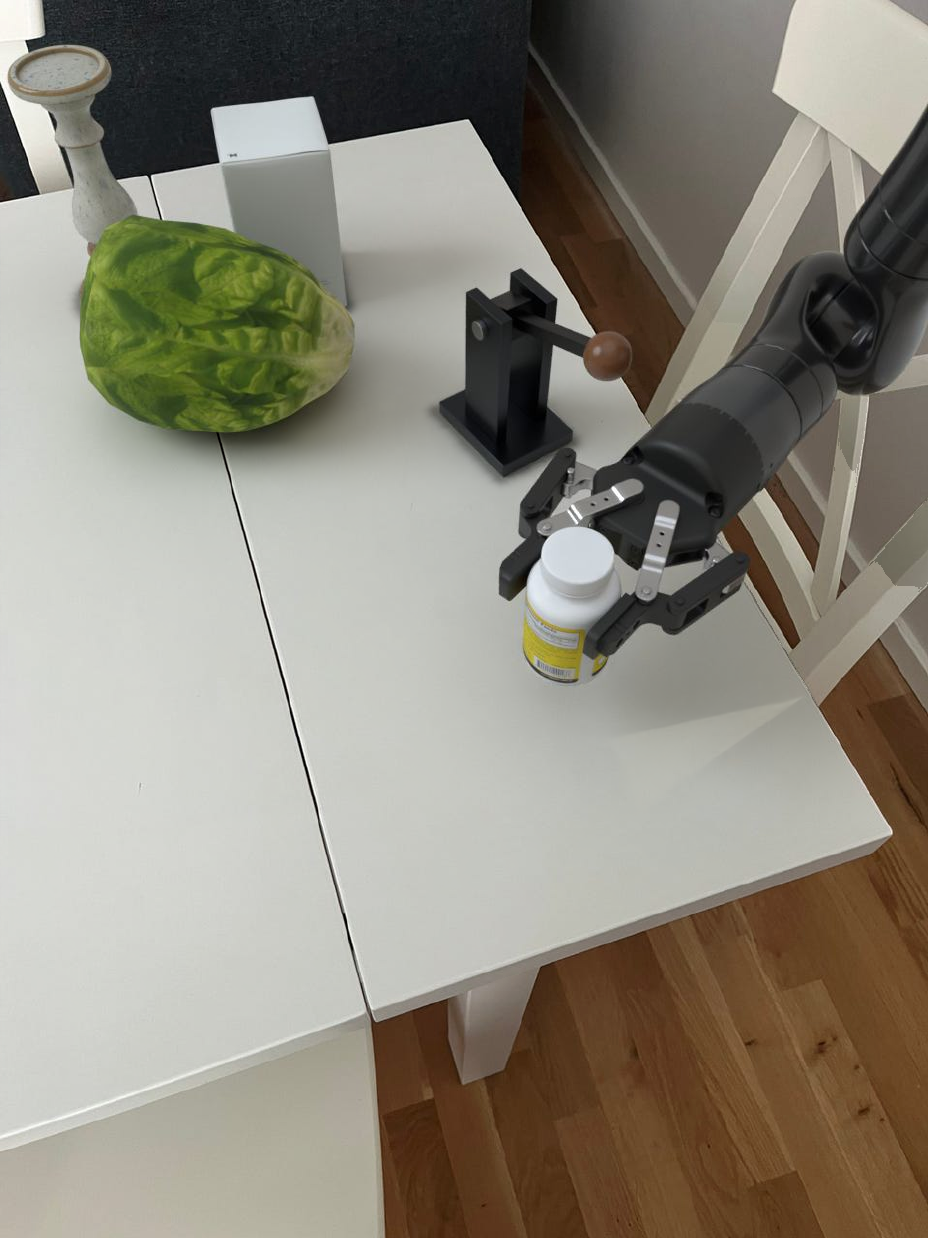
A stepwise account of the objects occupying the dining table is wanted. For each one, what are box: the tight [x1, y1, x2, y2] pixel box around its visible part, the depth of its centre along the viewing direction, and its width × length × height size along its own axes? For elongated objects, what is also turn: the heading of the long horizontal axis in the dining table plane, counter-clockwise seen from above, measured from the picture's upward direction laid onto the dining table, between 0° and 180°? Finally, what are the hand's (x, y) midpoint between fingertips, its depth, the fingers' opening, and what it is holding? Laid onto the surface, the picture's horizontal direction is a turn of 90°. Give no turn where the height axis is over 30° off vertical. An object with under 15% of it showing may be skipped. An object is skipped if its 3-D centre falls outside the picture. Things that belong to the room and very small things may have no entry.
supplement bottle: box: [522, 527, 622, 688], centre depth 57 cm, size 5×5×10 cm
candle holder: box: [7, 44, 139, 301], centre depth 83 cm, size 9×9×20 cm
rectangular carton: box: [210, 96, 348, 308], centre depth 86 cm, size 9×9×15 cm
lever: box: [489, 290, 633, 383], centre depth 68 cm, size 14×3×3 cm, turn 35°
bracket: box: [438, 267, 574, 477], centre depth 76 cm, size 9×7×13 cm
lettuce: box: [79, 215, 356, 434], centre depth 77 cm, size 16×21×15 cm
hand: (546, 618), depth 55 cm, fingers closed on supplement bottle, 5 cm apart
